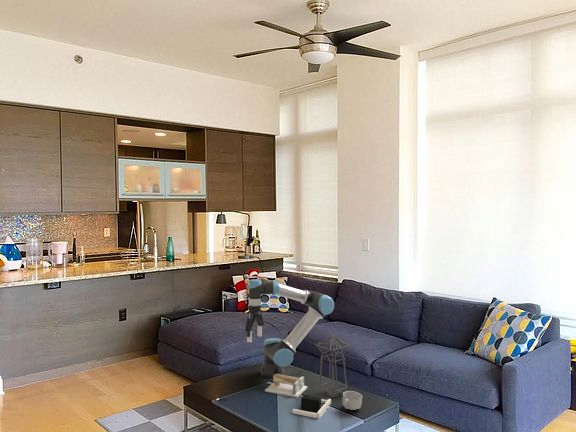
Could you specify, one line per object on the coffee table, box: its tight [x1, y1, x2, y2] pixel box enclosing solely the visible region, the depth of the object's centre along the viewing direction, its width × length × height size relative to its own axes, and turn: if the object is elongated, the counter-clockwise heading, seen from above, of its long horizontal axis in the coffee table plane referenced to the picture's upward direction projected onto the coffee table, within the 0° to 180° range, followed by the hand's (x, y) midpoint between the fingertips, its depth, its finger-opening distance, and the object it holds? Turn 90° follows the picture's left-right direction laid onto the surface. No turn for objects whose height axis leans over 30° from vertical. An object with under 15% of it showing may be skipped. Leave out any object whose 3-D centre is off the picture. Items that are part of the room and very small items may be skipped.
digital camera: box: [300, 394, 322, 413], centre depth 265 cm, size 10×5×7 cm, turn 69°
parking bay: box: [292, 398, 332, 419], centre depth 267 cm, size 19×15×3 cm
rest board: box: [264, 383, 308, 399], centre depth 293 cm, size 16×21×1 cm
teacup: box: [342, 390, 363, 411], centre depth 266 cm, size 14×11×8 cm
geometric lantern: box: [315, 335, 351, 397], centre depth 286 cm, size 16×16×35 cm
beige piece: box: [272, 374, 305, 395], centre depth 292 cm, size 14×17×7 cm
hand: (254, 339), depth 298 cm, fingers open, 13 cm apart
